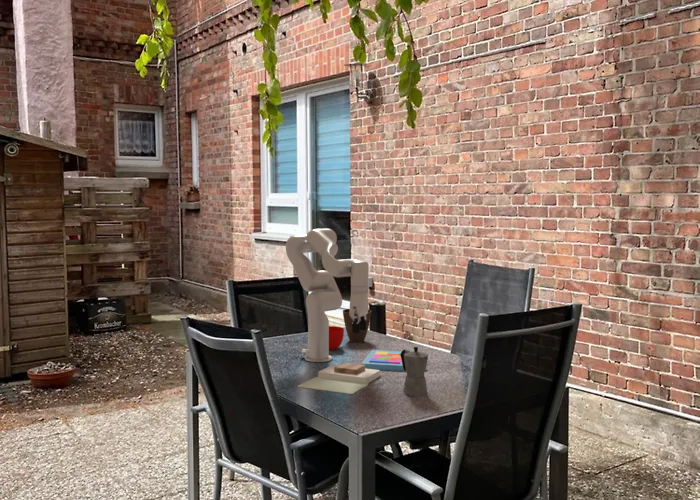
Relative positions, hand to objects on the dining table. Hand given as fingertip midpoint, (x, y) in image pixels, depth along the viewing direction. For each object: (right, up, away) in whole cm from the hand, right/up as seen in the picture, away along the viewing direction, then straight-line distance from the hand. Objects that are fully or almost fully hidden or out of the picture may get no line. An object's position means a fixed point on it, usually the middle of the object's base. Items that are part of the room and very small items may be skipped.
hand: (359, 331), depth 300 cm
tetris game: (+17, -17, +18) cm, 30 cm away
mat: (-11, -19, -21) cm, 31 cm away
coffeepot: (+20, -20, -30) cm, 42 cm away
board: (-4, -18, -8) cm, 20 cm away
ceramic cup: (-13, -14, +48) cm, 51 cm away
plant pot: (0, -13, +64) cm, 66 cm away
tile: (-4, -16, -7) cm, 18 cm away
